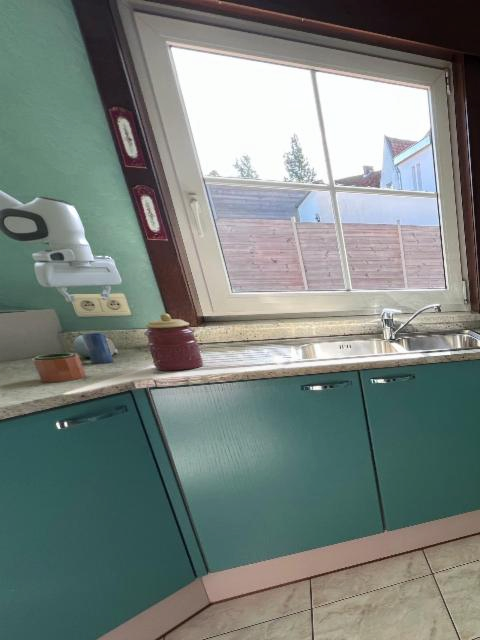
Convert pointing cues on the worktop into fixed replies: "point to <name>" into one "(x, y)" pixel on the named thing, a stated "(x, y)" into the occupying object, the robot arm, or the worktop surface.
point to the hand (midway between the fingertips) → (89, 300)
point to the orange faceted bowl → (59, 367)
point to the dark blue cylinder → (97, 348)
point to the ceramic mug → (82, 349)
